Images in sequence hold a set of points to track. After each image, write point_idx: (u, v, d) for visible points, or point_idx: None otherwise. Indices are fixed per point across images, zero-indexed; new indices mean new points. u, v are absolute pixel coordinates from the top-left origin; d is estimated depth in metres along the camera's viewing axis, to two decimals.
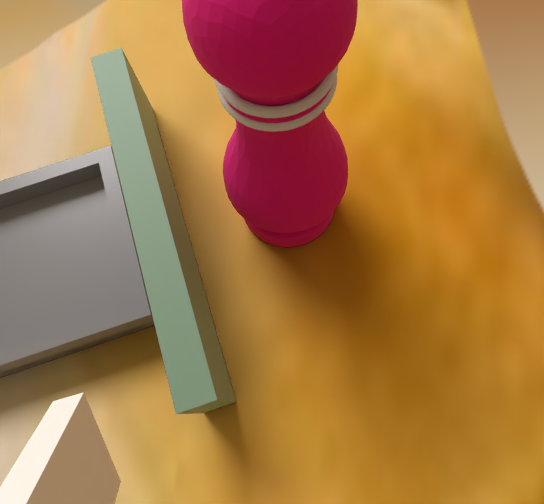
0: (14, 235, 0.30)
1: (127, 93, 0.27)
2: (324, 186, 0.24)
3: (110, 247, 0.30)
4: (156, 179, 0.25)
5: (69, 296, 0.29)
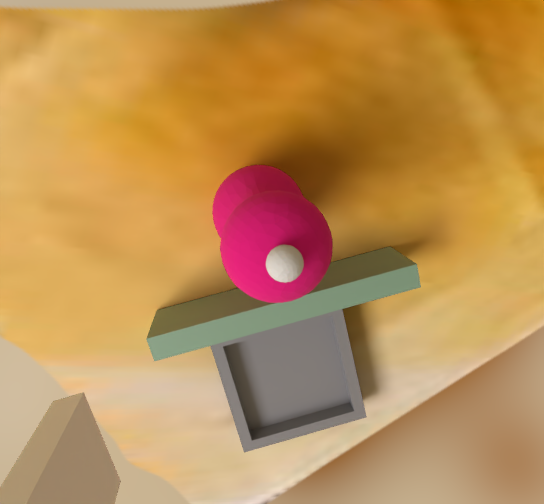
0: (266, 397, 0.43)
1: (191, 331, 0.36)
2: (294, 190, 0.33)
3: (282, 332, 0.42)
4: (268, 305, 0.36)
5: (314, 355, 0.43)
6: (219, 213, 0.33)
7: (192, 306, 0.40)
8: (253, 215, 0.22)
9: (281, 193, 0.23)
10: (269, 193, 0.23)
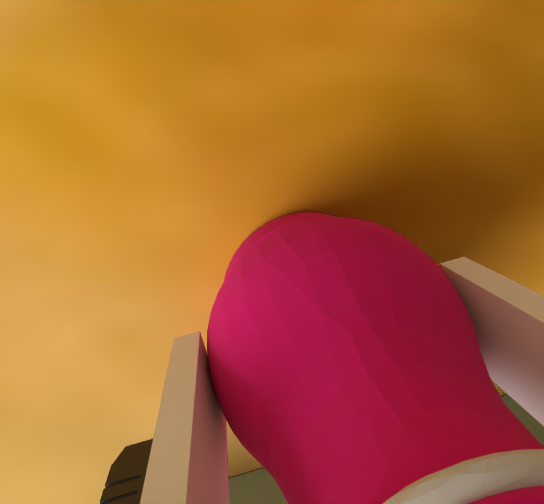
0: None
1: None
2: (460, 306, 0.11)
3: None
4: None
5: None
6: (228, 380, 0.10)
7: None
8: None
9: None
10: None
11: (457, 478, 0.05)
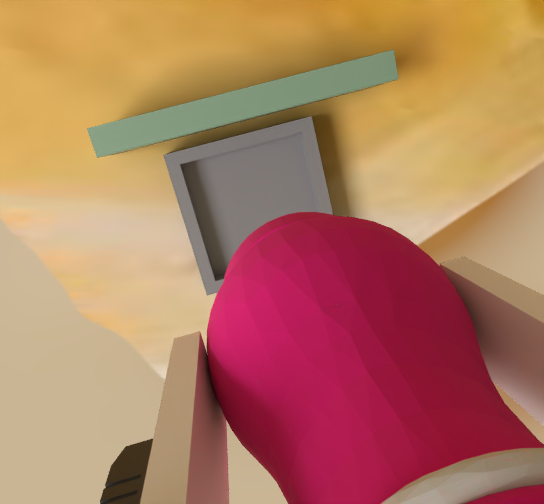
0: (231, 236, 0.39)
1: (139, 121, 0.31)
2: (459, 305, 0.11)
3: (247, 157, 0.38)
4: (225, 93, 0.32)
5: (284, 187, 0.39)
6: (228, 379, 0.10)
7: None
8: None
9: None
10: None
11: (457, 477, 0.05)
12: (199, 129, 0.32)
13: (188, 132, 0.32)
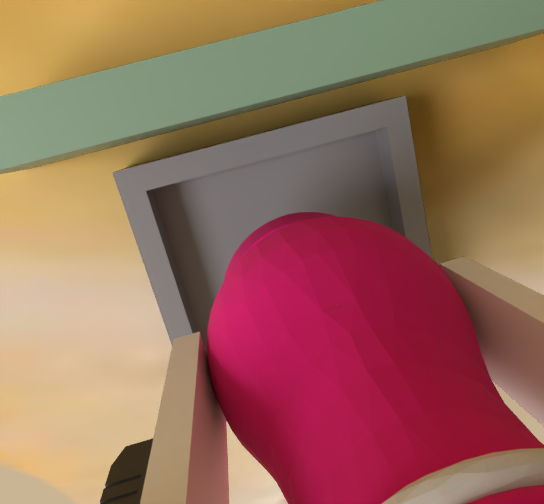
0: None
1: (40, 100, 0.14)
2: (459, 305, 0.11)
3: (277, 175, 0.20)
4: (239, 37, 0.14)
5: None
6: (228, 379, 0.10)
7: None
8: None
9: None
10: None
11: (457, 477, 0.05)
12: (180, 119, 0.14)
13: (155, 126, 0.14)
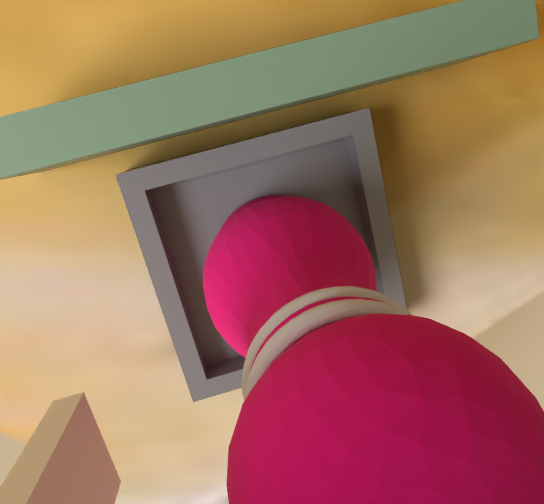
0: None
1: (58, 114, 0.16)
2: (360, 249, 0.17)
3: (260, 177, 0.23)
4: (224, 62, 0.17)
5: None
6: (217, 295, 0.17)
7: None
8: (349, 446, 0.06)
9: (422, 344, 0.07)
10: (382, 341, 0.07)
11: (309, 295, 0.11)
12: (174, 130, 0.17)
13: (154, 135, 0.17)
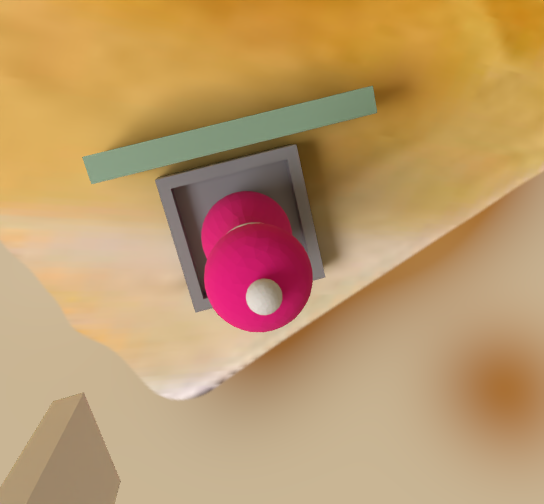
0: None
1: (131, 150, 0.33)
2: (279, 217, 0.34)
3: (235, 182, 0.40)
4: (214, 125, 0.34)
5: None
6: (207, 239, 0.34)
7: None
8: (235, 249, 0.23)
9: (262, 227, 0.24)
10: (251, 227, 0.24)
11: (240, 225, 0.28)
12: (189, 158, 0.34)
13: (178, 161, 0.34)
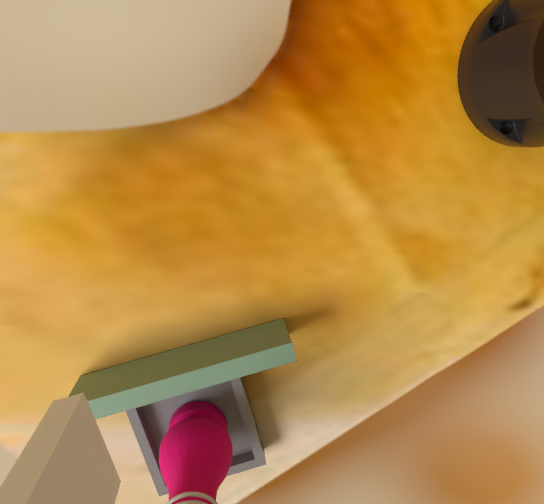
0: None
1: (100, 401, 0.42)
2: (218, 450, 0.43)
3: (190, 393, 0.49)
4: (165, 379, 0.42)
5: None
6: (161, 468, 0.43)
7: (108, 374, 0.46)
8: None
9: None
10: None
11: (179, 495, 0.37)
12: (146, 403, 0.43)
13: (137, 406, 0.43)
